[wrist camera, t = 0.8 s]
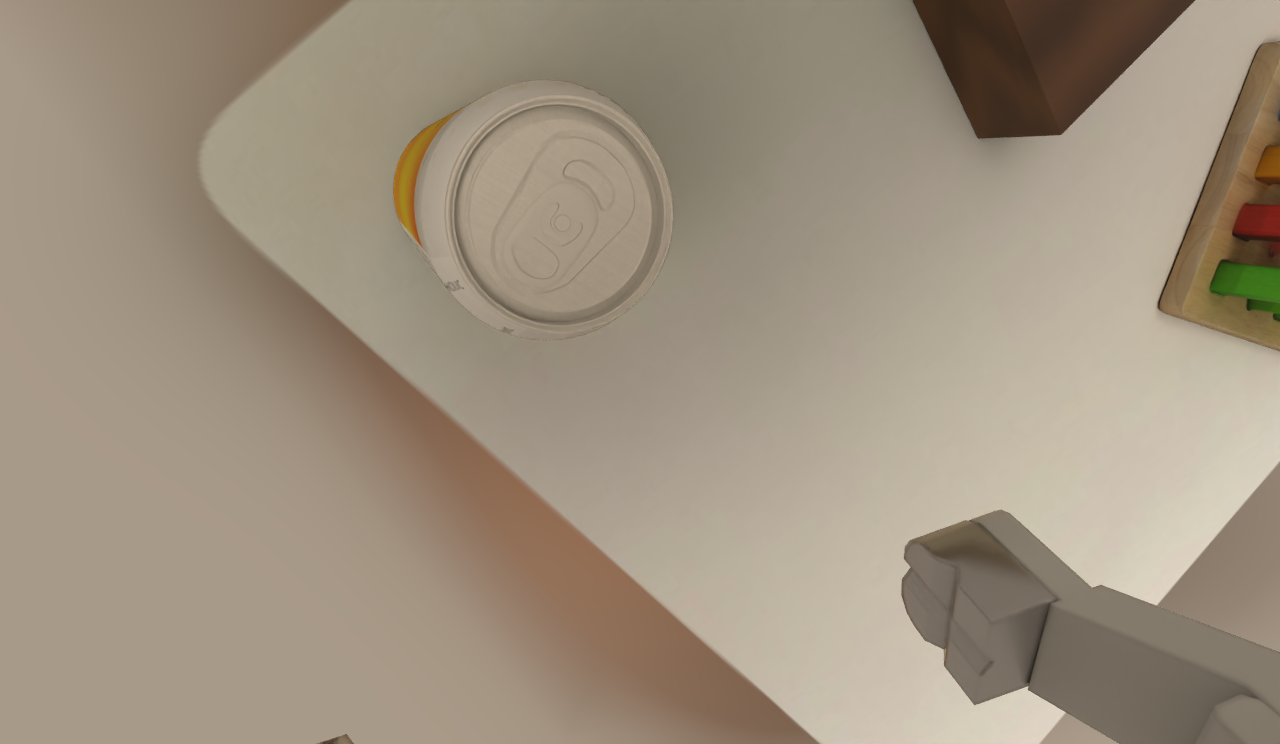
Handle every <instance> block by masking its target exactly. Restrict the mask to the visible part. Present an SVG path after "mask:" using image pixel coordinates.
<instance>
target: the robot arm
mask: <svg viewBox="0 0 1280 744" xmlns="http://www.w3.org/2000/svg"><path fill="white" fill-rule="evenodd" d="M904 559H905V561H906V562H907V563H908V564H909V566H910V567H911V568H910V569H909V570H908V572H907V573H906V574H905V576H904V577H903V579H902V594H901V595H902V598H903V601H904V605H905V608H906V611H907V614H908V615H909V617H910V619H911V621H912V623H913V625H914V626H915V628H916V629H917V630H918V632H919V633H920V634H921V636H922V637H923V639H924V640H925V641H927V642H929V643H932V644H934V645H936V646H938V647H940V648H942V649H944V666H945V667H946V669H947V670H948V671H949V673H950V674H951V675H952V677H953V678H954V679H955V680H956V682H957V683H958V684H959V686H960V687H961V688H962V690H963V691H964V692H965V693H966V695H967V696H968V697H969V699H970V700H971V701H972V703H973V704H974V705H976V704H979V703H982V702H985V701H988V700H990V699H993V698H996V697H999V696H1002V695H1004V694H1007V693H1010V692H1013V691H1016V690H1019V689H1021V688H1024V687H1027V686H1029V687H1028V690H1029V691H1031V692H1033V693H1034V694H1036V695H1038V696H1039V697H1041V698H1043V699H1044V700H1046V701H1048V702H1050V703H1051V704H1053V705H1055V706H1056V707H1058V708H1060V709H1061V710H1063V711H1065V712H1067V713H1068V714H1070V715H1072V716H1073V717H1075V718H1077V719H1079V720H1080V721H1082V722H1083V723H1085V724H1087V725H1089V726H1090V727H1092V728H1094V729H1095V730H1097V731H1099V732H1101V733H1102V734H1104V735H1106V736H1107V737H1109V738H1111V739H1112V740H1114V741H1116V742H1117V743H1119V744H1280V652H1277V651H1275V650H1272V649H1269V648H1266V647H1264V646H1261V645H1259V644H1256V643H1253V642H1251V641H1248V640H1246V639H1243V638H1240V637H1238V636H1235V635H1232V634H1230V633H1227V632H1224V631H1222V630H1219V629H1216V628H1213V627H1211V626H1209V625H1206V624H1203V623H1201V622H1198V621H1195V620H1193V619H1190V618H1187V617H1185V616H1182V615H1179V614H1177V613H1174V612H1171V611H1169V610H1166V609H1164V608H1161V607H1158V606H1156V605H1153V604H1150V603H1148V602H1145V601H1142V600H1140V599H1137V598H1134V597H1132V596H1129V595H1126V594H1124V593H1121V592H1119V591H1116V590H1113V589H1111V588H1108V587H1105V586H1103V585H1099V586H1096V587H1093V588H1092V587H1091V586H1089V585H1088V584H1087V583H1086V582H1085V581H1084V580H1083V579H1082V578H1081V577H1080V576H1078V575H1077V574H1076V573H1075V572H1074V571H1073V570H1072V569H1071V568H1070V567H1069V566H1067V565H1066V564H1065V563H1064V562H1063V561H1062V560H1061V559H1060V558H1059V557H1057V556H1056V555H1055V554H1054V553H1053V552H1052V551H1051V550H1050V549H1049V548H1048V547H1046V546H1045V545H1044V544H1043V543H1042V542H1041V541H1040V540H1039V539H1038V538H1037V537H1035V536H1034V535H1033V534H1032V533H1031V532H1030V531H1029V530H1028V529H1027V528H1026V527H1024V526H1023V525H1022V524H1021V523H1020V522H1019V521H1018V520H1017V519H1016V518H1014V517H1013V516H1012V515H1011V514H1010V513H1008V512H1005V511H1003V510H997V511H993V512H991V513H988V514H985V515H982V516H980V517H977V518H974V519H972V520H969V521H966V520H965V521H962V522H960V523H957V524H954V525H951V526H949V527H946V528H943V529H940V530H937V531H935V532H932V533H929V534H926V535H924V536H921V537H918V538H915V539H912V540H910V541H909V542H908V544H907V545H906V546H905V553H904ZM317 744H354V743H353V742H352V741H351V739H350V738H349V737H348V735H347V734H345V735H342V736H339V737H336V738H333V739H330V740H327V741H323V742H321V743H317Z"/></svg>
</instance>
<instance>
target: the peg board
mask: <svg viewBox="0 0 1280 744" xmlns="http://www.w3.org/2000/svg"><path fill="white" fill-rule="evenodd" d="M1160 310H1161V311H1162V312H1163V313H1166V314H1169V315H1172V316H1175V317H1178V318H1181V319H1184V320H1187V321H1190V322H1193V323H1196V324H1199V325H1202V326H1205V327H1208V328H1211V329H1214V330H1217V331H1220V332H1223V333H1226V334H1229V335H1233V336H1236V337H1239V338H1242V339H1245V340H1248V341H1251V342H1254V343H1257V344H1260V345H1263V346H1266V347H1269V348H1272V349H1275V350H1278V351H1280V41H1278V42H1270V43H1266V44H1263V45H1262V46H1261V47H1260V48H1259V50H1258V52H1257V54H1256V56H1255V58H1254V60H1253V63H1252V65H1251V68H1250V71H1249V74H1248V76H1247V79H1246V82H1245V84H1244V87H1243V90H1242V92H1241V95H1240V97H1239V100H1238V103H1237V105H1236V108H1235V110H1234V113H1233V115H1232V118H1231V121H1230V123H1229V126H1228V128H1227V131H1226V133H1225V136H1224V138H1223V141H1222V144H1221V146H1220V149H1219V151H1218V154H1217V156H1216V159H1215V162H1214V164H1213V167H1212V169H1211V172H1210V175H1209V177H1208V180H1207V182H1206V185H1205V188H1204V190H1203V193H1202V195H1201V198H1200V201H1199V203H1198V206H1197V209H1196V211H1195V214H1194V216H1193V219H1192V222H1191V224H1190V227H1189V229H1188V231H1187V234H1186V237H1185V239H1184V242H1183V244H1182V247H1181V249H1180V252H1179V255H1178V257H1177V260H1176V262H1175V265H1174V267H1173V270H1172V273H1171V275H1170V278H1169V280H1168V282H1167V285H1166V287H1165V290H1164V293H1163V295H1162V298H1161V301H1160Z"/></svg>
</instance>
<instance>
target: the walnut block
mask: <svg viewBox="0 0 1280 744" xmlns="http://www.w3.org/2000/svg"><path fill="white" fill-rule="evenodd" d="M913 1H914V4H915V6H916V8H917V10H918V12H919V14H920V16H921V18H922V20H923V23H924V25H925V27H926V29H927V31H928V33H929V35H930V37H931V39H932V42H933V44H934V46H935V48H936V50H937V52H938V54H939V56H940V58H941V61H942V63H943V65H944V67H945V69H946V71H947V73H948V75H949V77H950V80H951V82H952V84H953V86H954V88H955V90H956V92H957V94H958V96H959V99H960V101H961V103H962V105H963V107H964V109H965V111H966V113H967V115H968V118H969V120H970V122H971V124H972V126H973V128H974V130H975V132H976V134H977V137H978V138H979V139H980V138H1003V137H1026V136H1049V135H1061V134H1062V133H1063V132H1064V131H1065V130H1066V129H1067V128H1068V127H1069V126H1070V125H1071V124H1072V123H1073V122H1074V121H1075V120H1076V119H1077V118H1078V117H1079V116H1080V115H1081V114H1082V113H1083V112H1084V111H1085V110H1086V109H1087V108H1088V107H1089V106H1090V105H1091V104H1092V103H1093V102H1094V101H1095V100H1096V99H1097V98H1098V97H1099V96H1100V95H1101V94H1102V93H1103V92H1104V91H1105V90H1106V89H1107V88H1108V87H1109V86H1110V85H1111V84H1112V83H1113V82H1114V81H1115V80H1116V79H1117V78H1118V77H1119V76H1120V75H1121V74H1122V73H1123V72H1124V71H1125V70H1126V69H1127V68H1128V67H1129V66H1130V65H1131V64H1132V63H1133V62H1134V61H1135V60H1136V59H1137V58H1138V57H1139V56H1140V55H1141V54H1142V53H1143V52H1144V51H1145V50H1146V49H1147V48H1148V47H1149V46H1150V45H1151V44H1152V43H1153V42H1154V41H1155V40H1156V39H1157V38H1158V37H1159V36H1160V35H1161V34H1162V33H1163V32H1164V31H1165V30H1166V29H1167V28H1168V27H1169V26H1170V25H1171V24H1172V23H1173V22H1174V21H1175V20H1176V19H1177V18H1178V17H1179V16H1180V15H1181V14H1182V13H1183V12H1184V11H1185V10H1186V9H1187V8H1188V7H1189V6H1190V5H1191V4H1192V3H1193V2H1194V1H1195V0H913Z"/></svg>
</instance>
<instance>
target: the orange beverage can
mask: <svg viewBox="0 0 1280 744" xmlns="http://www.w3.org/2000/svg"><path fill="white" fill-rule="evenodd" d="M393 194H394V203H395V208H396V212H397V215H398V218H399V220H400V223H401V225H402V227H403V229H404V230H405V232H406V234H407V235H408V237H409V238H410V239H411V241H412V242H413V243H414V245H415V246H416V247H417V249H418V250H419V251H420V253H421V254H422V255H423V257H424V258H425V259H426V261H427V262H428V263H429V265H430V266H431V267H432V269H433V270H434V271H435V273H436V274H437V275H438V277H439V278H440V279H441V281H442V282H443V283H444V285H445V286H446V287H447V288H448V290H449V291H450V292H451V294H452V295H453V296H454V297H455V298H456V299H457V300H458V301H459V303H460V304H461V305H462V306H463V307H464V308H465V309H467V310H468V311H469V312H470V313H472V314H473V315H474V316H475V317H477V318H478V319H480V320H481V321H483V322H485V323H486V324H488V325H489V326H492V327H494V328H496V329H498V330H500V331H502V332H505V333H508V334H511V335H514V336H517V337H522V338H527V339H534V340H561V339H568V338H573V337H577V336H581V335H584V334H587V333H589V332H592V331H595V330H597V329H599V328H601V327H603V326H605V325H607V324H608V323H610V322H611V321H613V320H615V319H616V318H618V317H619V316H621V315H622V314H624V313H625V312H627V311H628V310H629V309H630V308H631V307H633V306H634V305H635V304H636V303H637V302H638V301H639V300H640V299H641V298H642V297H643V296H644V295H645V293H646V292H647V291H648V289H649V288H650V287H651V285H652V284H653V282H654V281H655V279H656V277H657V276H658V274H659V272H660V270H661V268H662V266H663V264H664V261H665V259H666V256H667V253H668V250H669V246H670V241H671V237H672V229H673V202H672V194H671V189H670V184H669V181H668V178H667V174H666V171H665V169H664V167H663V164H662V162H661V160H660V158H659V156H658V154H657V153H656V151H655V149H654V147H653V145H652V143H651V142H650V140H649V138H648V137H647V136H646V134H645V133H644V131H643V130H642V129H641V127H640V126H639V125H638V124H637V123H636V122H635V120H634V119H633V118H632V117H631V116H630V115H629V114H628V113H627V112H625V111H624V110H623V109H622V108H621V107H620V106H618V105H617V104H615V103H614V102H613V101H611V100H610V99H608V98H607V97H605V96H603V95H601V94H599V93H597V92H595V91H593V90H591V89H588V88H585V87H583V86H580V85H577V84H572V83H568V82H563V81H555V80H532V81H525V82H519V83H515V84H512V85H508V86H505V87H502V88H500V89H498V90H495V91H493V92H491V93H489V94H487V95H485V96H483V97H481V98H480V99H478V100H476V101H474V102H472V103H470V104H469V105H467V106H465V107H463V108H461V109H459V110H458V111H456V112H454V113H452V114H450V115H448V116H447V117H445V118H443V119H441V120H439V121H438V122H436V123H434V124H432V125H430V126H429V127H427V128H425V129H424V130H423V131H421V132H420V133H419V134H418V135H417V136H416V137H415V138H414V139H413V140H412V141H411V142H410V143H409V144H408V146H407V147H406V148H405V150H404V152H403V154H402V155H401V157H400V160H399V162H398V165H397V168H396V172H395V177H394V186H393Z"/></svg>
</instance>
